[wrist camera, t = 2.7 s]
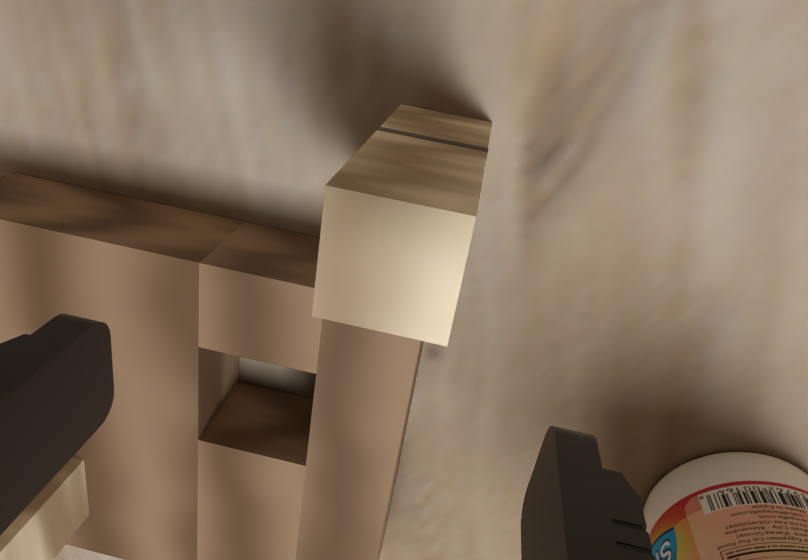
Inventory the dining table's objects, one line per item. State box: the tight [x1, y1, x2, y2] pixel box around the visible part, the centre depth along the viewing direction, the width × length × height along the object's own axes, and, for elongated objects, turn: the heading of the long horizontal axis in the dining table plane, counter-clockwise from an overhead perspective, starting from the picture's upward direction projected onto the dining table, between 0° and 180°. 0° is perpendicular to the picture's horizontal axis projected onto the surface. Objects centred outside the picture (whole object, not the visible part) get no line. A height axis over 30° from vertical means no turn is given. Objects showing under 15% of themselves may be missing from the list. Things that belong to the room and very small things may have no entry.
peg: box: [312, 104, 492, 346], centre depth 22 cm, size 4×4×12 cm
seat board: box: [0, 173, 424, 560], centre depth 30 cm, size 22×20×12 cm
